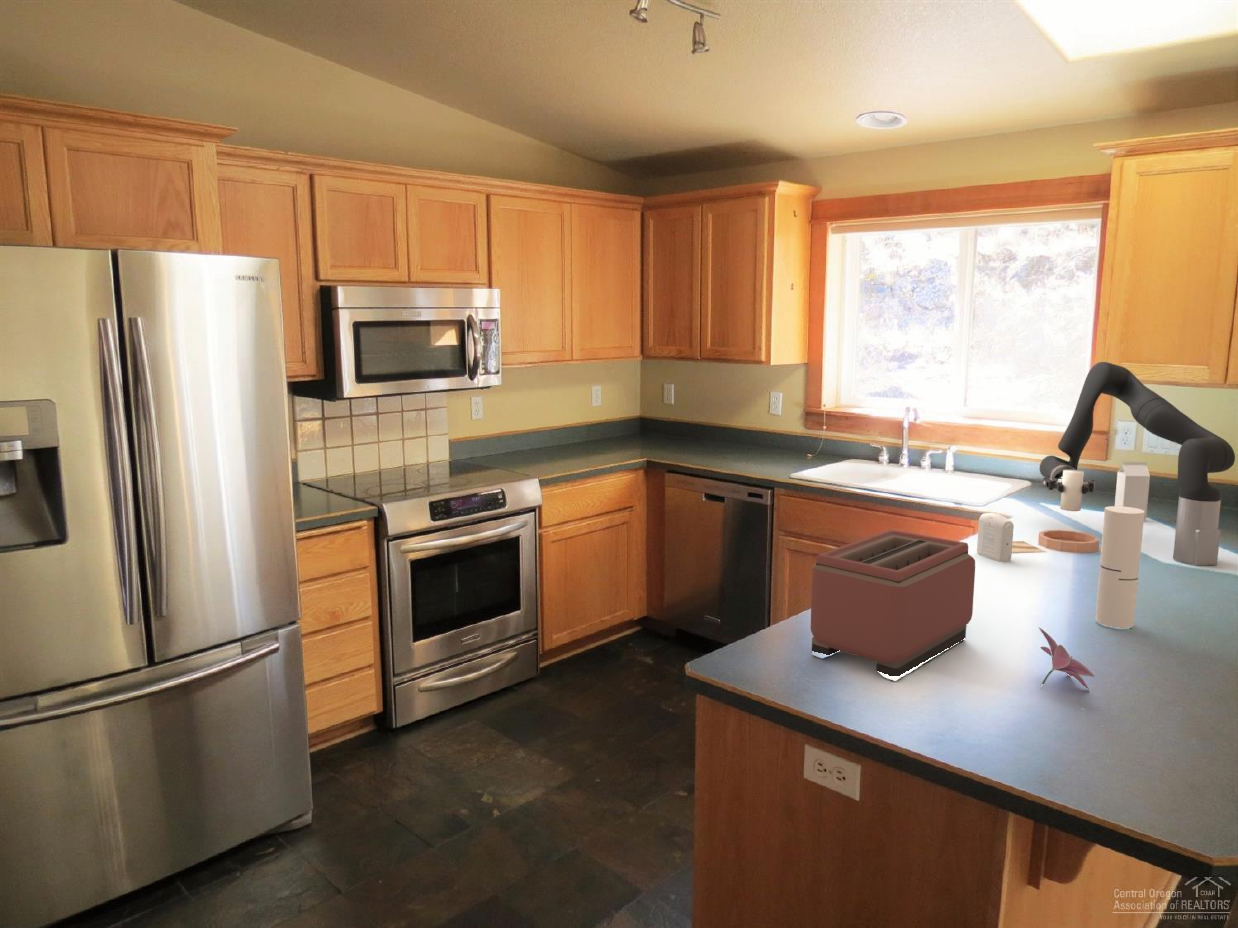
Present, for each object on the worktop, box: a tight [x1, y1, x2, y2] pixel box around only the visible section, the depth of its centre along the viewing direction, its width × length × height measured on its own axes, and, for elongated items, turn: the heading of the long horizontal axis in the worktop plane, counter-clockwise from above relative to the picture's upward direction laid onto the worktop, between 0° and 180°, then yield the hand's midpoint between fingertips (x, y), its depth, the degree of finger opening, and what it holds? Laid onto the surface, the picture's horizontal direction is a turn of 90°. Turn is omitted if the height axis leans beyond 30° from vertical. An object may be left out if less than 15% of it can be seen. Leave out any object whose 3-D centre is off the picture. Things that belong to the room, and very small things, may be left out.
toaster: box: [810, 529, 976, 676], centre depth 168 cm, size 19×36×21 cm, turn 134°
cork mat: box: [1012, 540, 1047, 554], centre depth 241 cm, size 12×12×1 cm
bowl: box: [1037, 529, 1100, 554], centre depth 242 cm, size 15×15×3 cm
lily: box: [1038, 627, 1095, 690], centre depth 150 cm, size 12×12×10 cm
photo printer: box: [976, 512, 1014, 563], centre depth 231 cm, size 10×4×12 cm, turn 17°
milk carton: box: [1114, 461, 1151, 522], centre depth 274 cm, size 7×7×19 cm
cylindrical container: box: [1094, 505, 1145, 628], centre depth 178 cm, size 7×7×25 cm
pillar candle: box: [1059, 469, 1085, 512], centre depth 240 cm, size 5×5×11 cm
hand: (1073, 489), depth 237 cm, fingers closed on pillar candle, 5 cm apart
